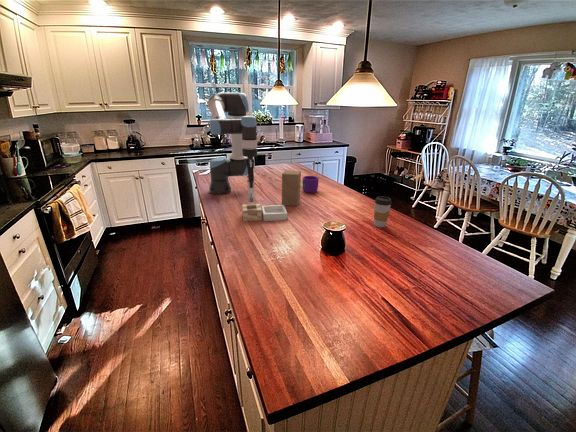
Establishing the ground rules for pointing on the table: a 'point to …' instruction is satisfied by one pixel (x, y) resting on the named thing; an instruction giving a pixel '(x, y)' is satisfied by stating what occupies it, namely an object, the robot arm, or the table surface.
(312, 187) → the mug
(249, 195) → the glass vial with cap
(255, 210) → the hollow square frame
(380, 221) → the coffee cup
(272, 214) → the tray
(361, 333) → the table surface
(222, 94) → the robot arm
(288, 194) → the wooden block
